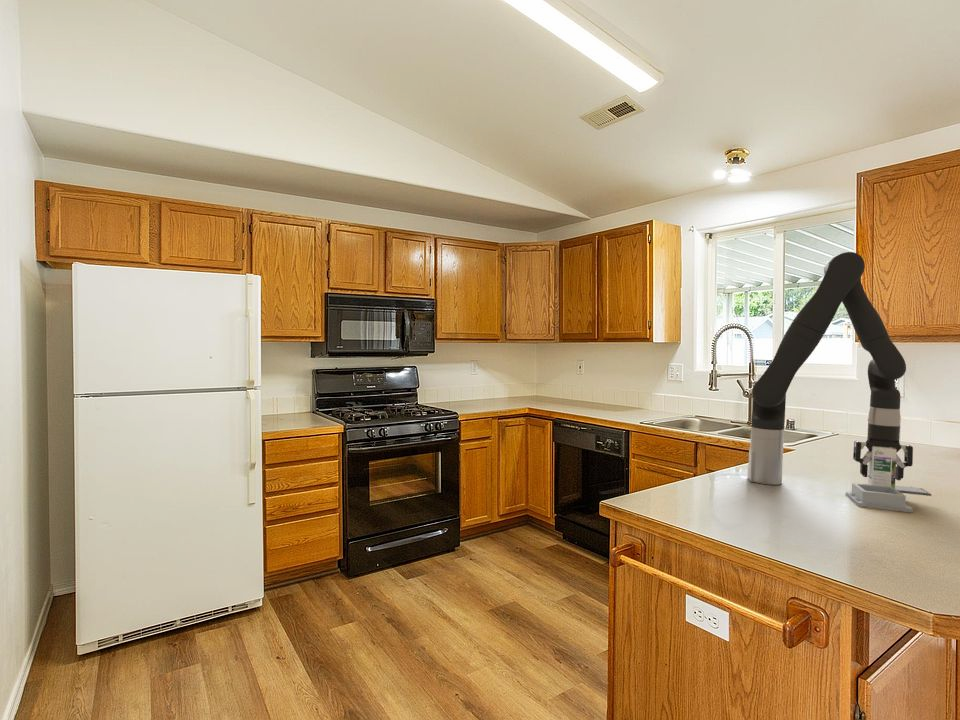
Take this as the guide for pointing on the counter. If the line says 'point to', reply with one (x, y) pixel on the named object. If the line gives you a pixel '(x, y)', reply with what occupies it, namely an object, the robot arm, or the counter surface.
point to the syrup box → (882, 467)
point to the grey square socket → (878, 497)
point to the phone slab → (912, 490)
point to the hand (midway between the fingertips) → (881, 478)
